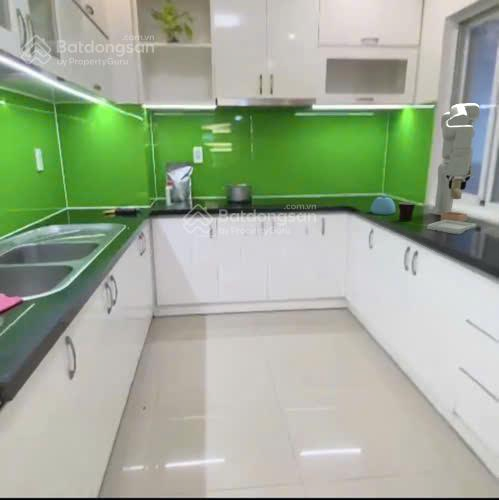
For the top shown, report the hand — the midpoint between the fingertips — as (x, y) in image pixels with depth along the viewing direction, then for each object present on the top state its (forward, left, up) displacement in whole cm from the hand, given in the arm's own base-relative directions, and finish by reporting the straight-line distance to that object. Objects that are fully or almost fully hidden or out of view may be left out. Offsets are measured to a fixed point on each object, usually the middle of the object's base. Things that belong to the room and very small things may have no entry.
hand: (456, 188), depth 194 cm
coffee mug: (-27, +1, -21) cm, 34 cm away
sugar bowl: (-50, +15, -21) cm, 56 cm away
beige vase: (0, 0, -5) cm, 5 cm away
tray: (0, 0, -21) cm, 21 cm away
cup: (-7, +17, -21) cm, 28 cm away
